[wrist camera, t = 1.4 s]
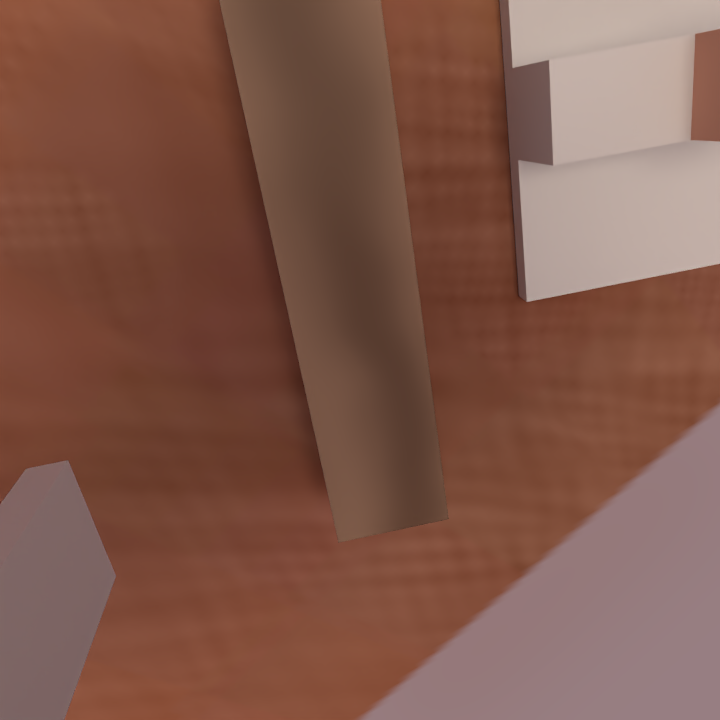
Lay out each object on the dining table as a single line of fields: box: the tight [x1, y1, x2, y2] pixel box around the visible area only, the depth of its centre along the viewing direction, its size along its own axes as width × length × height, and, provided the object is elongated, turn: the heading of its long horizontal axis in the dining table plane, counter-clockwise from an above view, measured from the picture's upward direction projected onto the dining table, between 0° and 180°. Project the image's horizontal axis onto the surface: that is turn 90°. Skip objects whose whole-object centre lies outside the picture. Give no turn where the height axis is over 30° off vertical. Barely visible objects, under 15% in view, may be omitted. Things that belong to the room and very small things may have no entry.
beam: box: [219, 0, 449, 542], centre depth 25 cm, size 5×22×5 cm, turn 9°
